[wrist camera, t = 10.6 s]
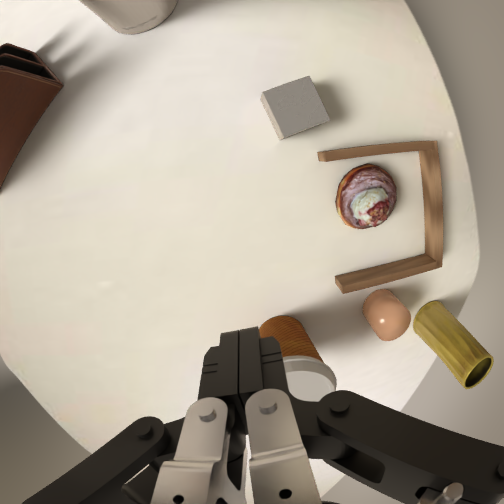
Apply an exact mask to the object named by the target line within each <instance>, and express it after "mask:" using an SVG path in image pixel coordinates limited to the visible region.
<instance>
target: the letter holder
mask: <svg viewBox="0 0 504 504" xmlns="http://www.w3.org/2000/svg"><path fill="white" fill-rule="evenodd" d="M62 87H63V84H62V82H61V81H60V80H59V79H58V78H57V77H56V76H55V74H54V73H53V72H52V71H51V70H50V69H49V68H48V67H47V66H46V64H45V63H44V62H43V61H42V60H41V59H40V58H39V57H38V55H37V54H36V53H35V52H32V51H30V50H27V49H24V48H20V47H17V46H15V45H12V44H9V43H6V44H3V45H1V46H0V188H1V186H2V184H3V181H4V179H5V177H6V175H7V173H8V171H9V169H10V167H11V166H12V164H13V162H14V160H15V158H16V156H17V155H18V153H19V151H20V149H21V148H22V146H23V144H24V143H25V141H26V139H27V138H28V136H29V134H30V133H31V131H32V130H33V128H34V126H35V125H36V123H37V122H38V120H39V119H40V117H41V116H42V114H43V113H44V111H45V110H46V108H47V107H48V106H49V104H50V103H51V101H52V100H53V99H54V97H55V96H56V95H57V93H58V92H59V91H60V89H61V88H62Z"/></svg>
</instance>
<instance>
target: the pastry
mask: <svg viewBox="0 0 504 504" xmlns="http://www.w3.org/2000/svg"><path fill="white" fill-rule="evenodd" d="M335 203H336V208H337V212H338V214H339V215H340V217H341V218H342V220H343V221H344V223H345V224H346V225H348V226H350V227H352V228H357V229H366V228H370V227H376V226H378V225H380V224H381V223H383V222H384V221H385V220H387V218H388V216H389V215H390V214H391V212H392V211H393V208H394V206H395V203H396V186H395V183H394V181H393V179H392V177H391V176H390V175H389V174H388V173H387V172H386V171H385V170H383V169H381V168H380V167H378V166H375V165H371V164H364V165H361V166H358V167H355V168H353V169H352V170H351V171H349V172H348V173H347V174H346V175H345V176H344V177H343V179H342V180H341V182H340V183H339V186H338V191H337V196H336V201H335Z"/></svg>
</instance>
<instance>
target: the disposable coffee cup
mask: <svg viewBox="0 0 504 504" xmlns="http://www.w3.org/2000/svg"><path fill="white" fill-rule="evenodd" d="M259 332H260V336H261V338H265V337H270V336H273V337H274V338H275V339H276V340H277V341H278V342H279V343H280V347H281V352H282V357H283V362H284V366H285V371H286V377H287V382H288V387H289V392H290V393H291V394H292V395H293V396H294V397H296V398H297V399H300V400H304V401H320V400H321V398H322V397H324V396H325V395H327V394H329V393H331V392H334V391H335V390H336V385H337V383H336V377H335V375H334V373H333V371H332V370H331V369H330V367H329V366H327V365H326V364H325V363H324V362H323V360H322V359H321V357H320V355H319V353H318V352H317V350H316V348H315V347H314V345H313V343H312V342H311V340H310V338H309V337H308V335H307V333H306V331H305V330H304V328H303V326H302V324H301V323H300V322H299V321H298V320H296V319H294V318H292V317H289V316H277V317H273V318H271V319H269V320H267V321H266V322H264V323H263V324H262V325H261V327H260V328H259Z"/></svg>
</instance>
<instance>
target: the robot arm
mask: <svg viewBox="0 0 504 504" xmlns="http://www.w3.org/2000/svg"><path fill="white" fill-rule="evenodd" d="M79 1H80V2H82V3H83V4H84V5H85V6H87V7H88V8H89V9H90V10H91V11H93V12H94V13H95V14H96V15H97V16H99V17H100V18H101V19H102V20H103V21H104V22H105V23H107V24H108V25H109V26H110V27H111V28H112V29H114V30H115V31H117V32H119V33H122V34H137V33H141V32H145V31H147V30H149V29H152V28H154V27H155V26H157V25H159V24H160V23H161V22H163V21H164V20H165V19H166V18H167V17H168V16H169V15H170V14H171V13H172V11H173V10H174V8H175V6H176V4H177V0H79ZM248 434H249V441H250V449H251V459H250V460H249V468H250V476H251V483H252V490H253V498H254V504H339V503H334V502H328V501H321V499H320V495H319V492H318V489H317V485H316V482H315V479H314V476H313V472H312V469H311V466H310V462H309V459H308V458H311V459H323V460H324V461H325V462H326V463H327V464H329V465H330V466H332V467H334V468H336V469H337V470H339V471H341V472H343V473H344V474H346V475H348V476H350V477H352V478H353V479H355V480H357V481H359V482H361V483H363V484H365V485H367V486H369V487H371V488H373V489H375V490H377V491H379V492H381V493H383V494H385V495H387V496H389V497H392V498H393V499H396V500H398V501H400V502H403V503H405V504H498V503H499V501H500V500H501V499H502V498H504V447H503V446H499V445H495V444H492V443H488V442H485V441H482V440H478V439H475V438H472V437H469V436H465V435H462V434H459V433H456V432H453V431H450V430H447V429H444V428H441V427H438V426H436V425H433V424H430V423H427V422H425V421H422V420H419V419H417V418H414V417H411V416H409V415H406V414H404V413H401V412H399V411H396V410H394V409H391V408H389V407H386V406H384V405H381V404H379V403H377V402H374V401H372V400H370V399H367V398H365V397H363V396H360V395H358V394H356V393H354V392H351V391H346V390H339V391H334V392H331V393H329V394H327V395H325V396H324V397H322V398H321V400H320V401H304V400H300V399H297V398H296V397H294V396H293V395H292V394H291V393H290V392H289V387H288V382H287V377H286V371H285V366H284V362H283V357H282V352H281V347H280V343H279V342H278V341H277V340H276V339H275V338H274V337H273V336H270V337H265V338H261V336H260V332H259V329H258V326H257V327H252V328H247V329H242V330H240V331H239V330H237V331H231V332H226V333H221V335H220V345H219V346H215V347H210V349H209V350H208V352H207V353H206V354H205V356H204V362H203V368H202V374H201V381H200V387H199V394H198V401H196V402H195V403H193V404H192V405H191V406H190V407H189V409H188V410H187V413H186V416H185V417H184V418H182V419H179V420H176V421H173V422H170V423H166V424H163V423H162V421H161V420H160V419H158V418H156V417H150V416H148V417H143V418H140V419H138V420H136V421H135V422H133V423H132V424H131V425H129V426H128V427H127V428H126V429H124V430H123V431H122V432H121V433H119V434H118V435H117V436H115V437H114V438H113V439H111V440H110V441H109V442H108V443H106V444H105V445H104V446H102V447H101V448H100V449H98V450H97V451H96V452H94V453H93V454H92V455H90V456H89V457H88V458H86V459H85V460H83V461H82V462H81V463H79V464H78V465H77V466H75V467H74V468H72V469H71V470H70V471H68V472H67V473H65V474H64V475H62V476H61V477H60V478H59V479H57V480H55V481H54V482H52V483H51V484H49V485H48V486H46V487H45V488H43V489H42V490H40V491H39V492H37V493H36V494H34V495H33V496H31V497H30V498H28V499H27V500H25V501H24V502H23V503H22V504H247V502H246V498H245V482H246V468H247V448H246V435H248ZM148 464H149V466H148V467H147V468H146V469H144V470H143V471H142V472H141V473H140V474H138V475H137V476H136V477H135V478H133V479H132V480H131V481H130V482H128V483H127V484H125V483H126V482H127V481H128V480H129V479H131V478H132V477H133V476H134V475H136V474H137V473H138V472H139V471H141V470H142V469H143V468H144V467H145V466H147V465H148Z"/></svg>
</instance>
